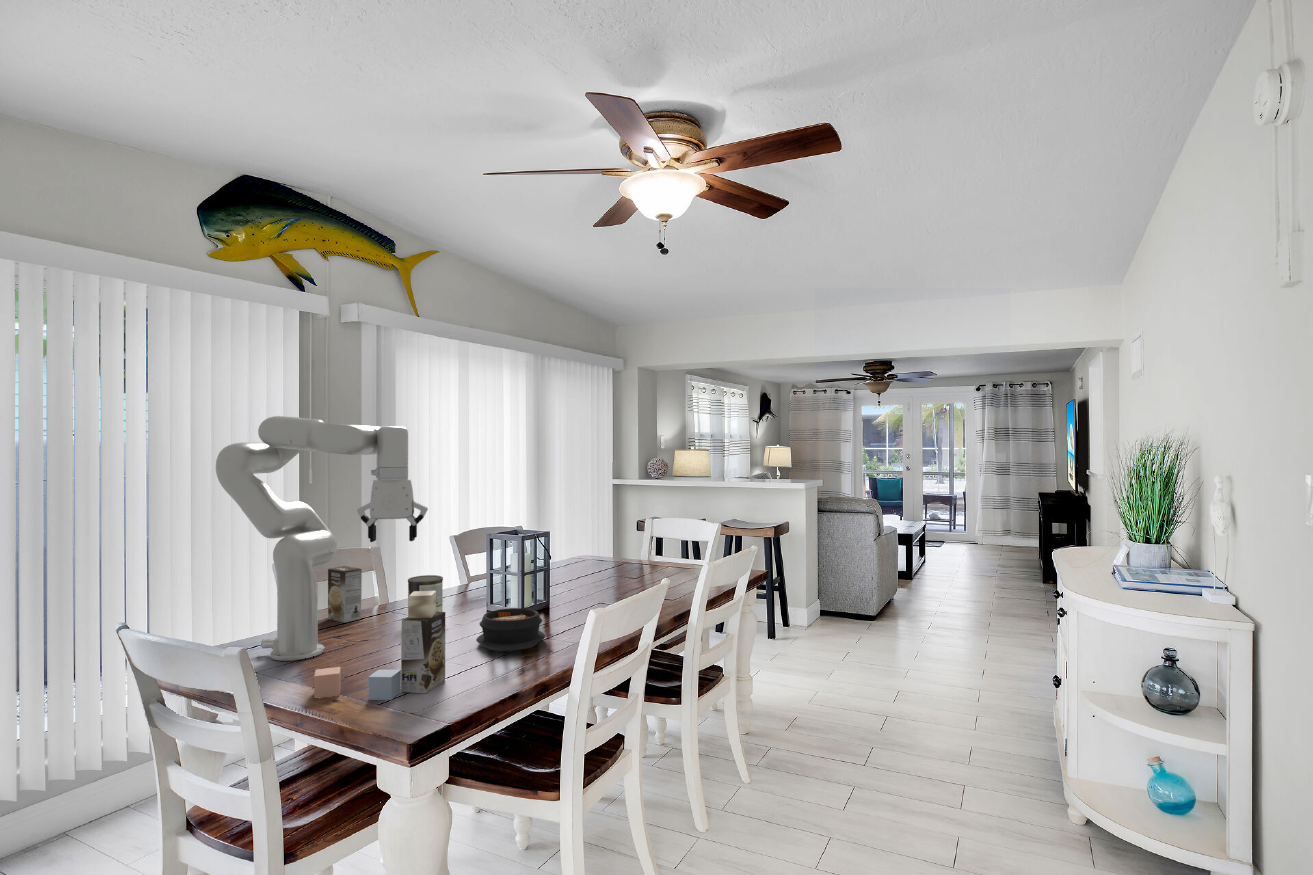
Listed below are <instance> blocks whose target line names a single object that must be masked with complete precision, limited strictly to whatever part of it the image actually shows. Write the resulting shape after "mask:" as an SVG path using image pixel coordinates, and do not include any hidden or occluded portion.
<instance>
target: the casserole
mask: <svg viewBox="0 0 1313 875" xmlns="http://www.w3.org/2000/svg"><path fill="white" fill-rule="evenodd" d="M542 622H543V619H542V618H541V616H540V613H539V611H537V610H534V609H531V608H524V607H522V608H519V607H513V608H511V607H510V608H500V609H496V610H492V611H489V612H486V613H485V614H483V616H482V619H481V620H480V622H479V623H478V625H479V627H480V628H481V629H482V634H480V635H479V636H477V638H476V640H475V641H476V642H477V643H478V644H479V645H482V646H483V647H486V649H488V650H490V651H494V652H515V651H523V650H529V649H532V648H534V647H535V646H536V645H537V644H538V643H540V642H541V641H544V639H545V638H546V634H545V633H544V632H543V631H540V626H541V624H542Z"/></svg>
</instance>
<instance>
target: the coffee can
mask: <svg viewBox="0 0 1313 875" xmlns="http://www.w3.org/2000/svg"><path fill="white" fill-rule="evenodd" d="M443 582H444V577H443V576H441V575H434V574H432V575H431V574H426V575H425V574H424V575H417V576H413V577H408V579H407V583H408V584H407V588H408V589H407V593H408V594H407V603H408V604H407V607H408V608H407V611H408V612H407V617H409V595H410V594H411V593H412V592H414V591H436V612H443V600H444V599H443V596H444V595H443V590H444V589H443V584H444V583H443Z"/></svg>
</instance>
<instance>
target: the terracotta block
mask: <svg viewBox="0 0 1313 875" xmlns="http://www.w3.org/2000/svg"><path fill="white" fill-rule="evenodd" d="M313 678H314V679H313V681H314V682H313V686H314V688H313V690H314V691H313V694H314V697H313V699H314V698H318V697H327V698H332V697H331V696H335V697H341V696H340V695H341V666H337V667H336V666H334V667H326V668H325V667H324V668H316V669H315V672H314V675H313Z"/></svg>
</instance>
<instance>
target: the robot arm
mask: <svg viewBox="0 0 1313 875" xmlns="http://www.w3.org/2000/svg"><path fill="white" fill-rule="evenodd" d="M257 433H258V437H259V439H260V441H262V442H236V443H231V444H228V445H226V446H225V447H223V448H222V449H221V450H220V451H219V453H218V455H217V457H216V459H215V474H216V477H217V480H218V482H219V485H221V487H222V489H224V491H225V492H226V493H227V494H228V495H229V496H230V497H231V499H232V500H233V501H234V502H235V503H236V504H237V505H238V507H239V508H240V509H241V511H242V512H243V514H244V515H245V516H246V518H248V520H249V521H250V522H251V524H252V525H253V527H254V528H255V529H256V531H257V532H258V533H260V534H261V536H263V537H265V538H266V539H279V538H281V539H280V540H279V541H277V543H276V544H275V546H274V548H273V551H272V560H273V564H274V565H273V566H274V569H275V575H276V590H277V591H276V598H277V599H276V601H277V602H276V604H277V606H276V607H277V609H276V610H277V611H276V612H277V613H276V614H277V615H276V620H277V621H276V625H277V626H276V627H277V628H276V632H277V633H276V638H275V637H274V639H270V638H268V639H262V640H260V641H261V642H260V647H261V648H262V649H272V651H271V652H270V654H269V655H270V659H272V660H275V661H278V662H279V661H280V662H281V661H283V662H288V661H300V660H306V659H310V658H314V657H317V656H319V655H322V654H323V653H324V652H325V645H323V644H321V643H318V633H319V630H318V629H319V625H318V624H319V623H318V620H319V619H318V618H319V617H318V615H319V612H318V609H319V607H318V605H319V604H318V603H319V602H318V601H319V599H318V598H319V597H318V596H319V594H318V593H319V592H318V590H319V588H318V579H317V576H316V574H315V572H314V569H313V567H316V566H321V565H324V564H326V563H329V562H330V561H332V560H333V559H334V558H335V557H336V554H337V552H338V544H337V540H336V537H335V536H334V534H333V533H332V531H330V529H329V527H328V526H327V525H326V524H325V522H323V520H322V519H321V518H320V516H319V515H318V514H317V512H316V511H315V510H314V509H313V508H312V507H311V506H310V505H309V504H307V503H305V502H303V501H301V500H286V501H284V500H281V499H280V498H279V497H278V495H276V494H275V493H274V492H273V490H272V489H271V488H270V486H269V485H268V484H266V483H265V482H264V481H262V480H261V479H260V478H258V477H256V476H255V475H256V474H271V473H274V472H277V471H279V470H280V469H282V468H283V467H284V466H286V465H287V464H288V463H289V462H290V461H291V460H292V459H293V458H295V457H297V455H298V454H300V453H301V452H302V451H307V452H315V453H327V454H335V455H346V456H347V455H349V456H358V455H360V456H361V455H365V456H366V455H372V456H373V455H376V468H375V469H371V471H370V474H371V476H375V478H376V479H374V480H373V481H372V485H371V490H370V491H371V493H370V502H368V503H366V504H364V505H362V506H360V507H358V508H357V509H356V511H357V514H358V516H359V517H360V520H361V521H362V522H363V523H364V524H365V525H366V526H367V538H368V539H369V542H370V543H374V542H375V541H377V525H376V524H375V523H376V522H377V521H378V520H402V519H404V520H405V519H406V520H407V521H408V522H409V523H410V525H409V527H408V528H409V529H408V531H409V533H408V537H409V539H408V541H409V542H414V541H415V540H416V538H417V537H418V525H419V523H420V522H421V521H422V520H423V519H424V518H425V516H426V514H427V512H428V510H429V508H428V507H427V506H425V505H423V504H421V503H418V502H417V501H416V500H414V499H415V498H414V491H413V485H412V479H411V478H409V430H408V428H407V427H404V426H401V425H399V426H398V425H394V426H392V425H390V426H389V425H388V426H387V425H385V426H377V425H376V426H375V425H362V424H361V425H360V424H342V423H341V424H340V423H332V422H331V423H329V422H324V421H323V420H322V419H317V418H303V417H299V416H298V417H297V416H281V415H275V416H270V417H267V418H266V419H264V420H262V422H261V423H260V425H259V426H258V430H257ZM415 509H416V510H419V511H420V512H419V515H417V517H416V516H415V515H414V513H415ZM367 510H369V515H370V517H369V516H368V515H367V514H366V511H367ZM322 652H323V653H322ZM313 656H314V657H313ZM305 658H306V659H305Z"/></svg>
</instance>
